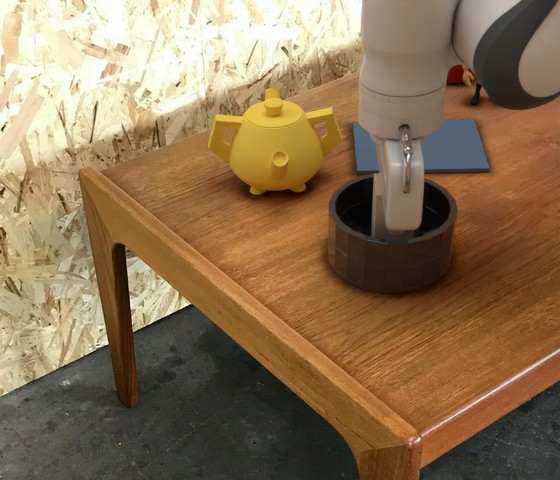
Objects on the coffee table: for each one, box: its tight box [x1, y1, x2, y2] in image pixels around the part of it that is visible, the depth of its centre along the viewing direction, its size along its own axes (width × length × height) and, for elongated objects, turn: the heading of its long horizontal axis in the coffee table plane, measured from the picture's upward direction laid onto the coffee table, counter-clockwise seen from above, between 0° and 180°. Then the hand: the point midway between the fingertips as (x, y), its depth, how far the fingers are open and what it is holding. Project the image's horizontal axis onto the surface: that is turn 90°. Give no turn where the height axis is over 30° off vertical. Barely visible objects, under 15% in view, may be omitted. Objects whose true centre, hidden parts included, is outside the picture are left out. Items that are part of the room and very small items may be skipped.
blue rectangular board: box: [352, 118, 490, 175], centre depth 113 cm, size 18×14×1 cm
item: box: [371, 173, 414, 240], centre depth 92 cm, size 4×4×9 cm
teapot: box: [207, 87, 343, 196], centre depth 105 cm, size 20×18×11 cm
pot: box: [327, 173, 459, 295], centre depth 93 cm, size 15×15×7 cm
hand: (393, 217), depth 92 cm, fingers closed on item, 4 cm apart
